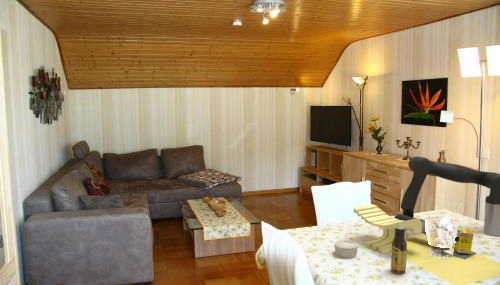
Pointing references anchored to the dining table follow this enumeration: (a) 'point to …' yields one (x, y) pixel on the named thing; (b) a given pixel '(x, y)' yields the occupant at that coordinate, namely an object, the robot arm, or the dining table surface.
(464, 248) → the supplement box
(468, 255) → the mat
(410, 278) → the dining table surface
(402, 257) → the sauce bottle
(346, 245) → the ramekin
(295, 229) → the dining table surface
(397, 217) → the robot arm
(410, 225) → the slatted curved stool
